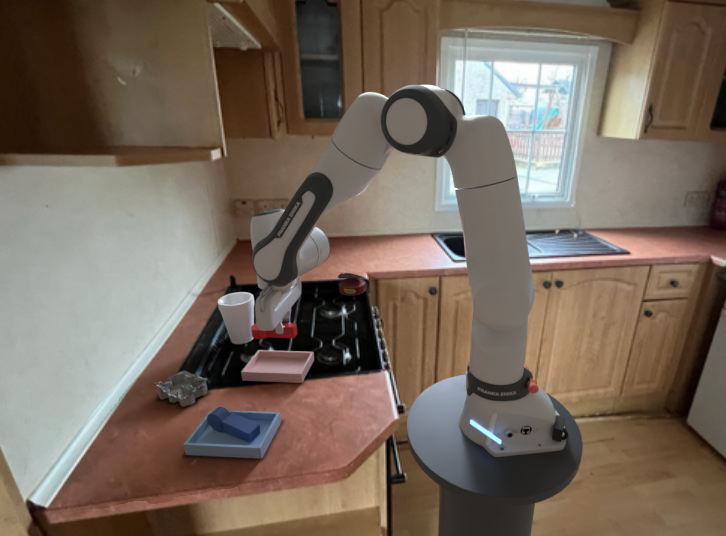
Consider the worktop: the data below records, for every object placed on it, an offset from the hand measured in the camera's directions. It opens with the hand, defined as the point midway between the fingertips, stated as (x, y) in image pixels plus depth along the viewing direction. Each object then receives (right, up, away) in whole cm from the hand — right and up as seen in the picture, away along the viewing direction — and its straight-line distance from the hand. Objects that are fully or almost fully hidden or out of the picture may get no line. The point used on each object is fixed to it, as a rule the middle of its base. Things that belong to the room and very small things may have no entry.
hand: (283, 328), depth 102 cm
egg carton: (-22, -15, -5) cm, 27 cm away
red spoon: (-2, -2, +1) cm, 3 cm away
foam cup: (-18, -6, +20) cm, 28 cm away
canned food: (+9, +7, +53) cm, 55 cm away
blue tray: (-4, -20, -18) cm, 27 cm away
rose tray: (-2, -11, +4) cm, 12 cm away
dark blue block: (-5, -18, -19) cm, 26 cm away
